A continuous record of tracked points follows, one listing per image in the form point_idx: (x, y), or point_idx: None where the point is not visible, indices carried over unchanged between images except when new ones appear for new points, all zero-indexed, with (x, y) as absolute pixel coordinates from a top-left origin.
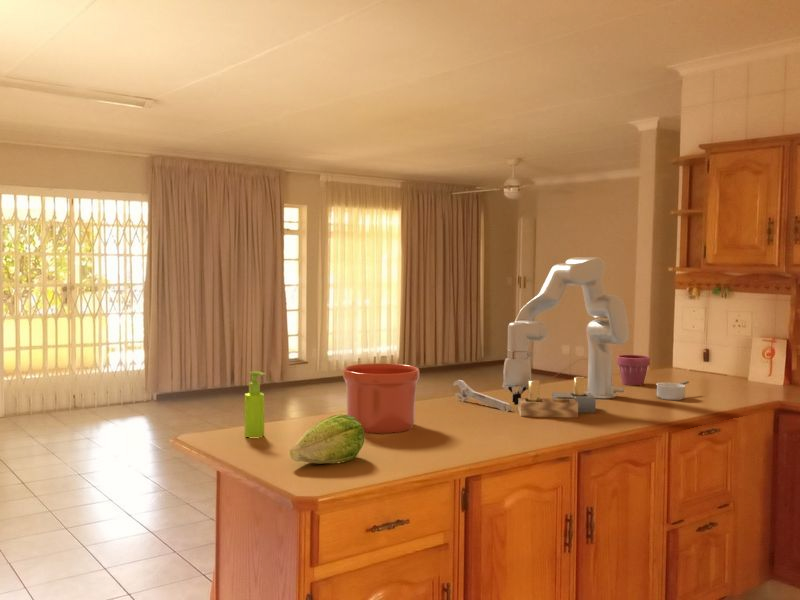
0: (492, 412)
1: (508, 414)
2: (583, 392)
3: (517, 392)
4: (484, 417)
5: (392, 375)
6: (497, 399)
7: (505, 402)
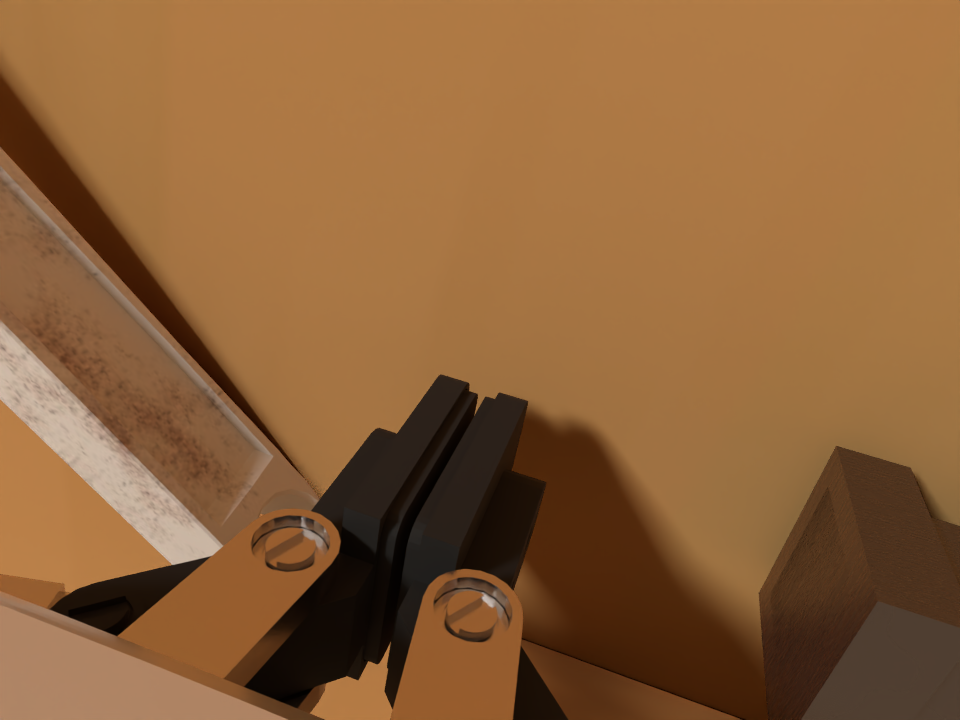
0: (119, 548)
1: None
2: None
3: (402, 607)
4: None
5: None
6: (67, 406)
7: None
